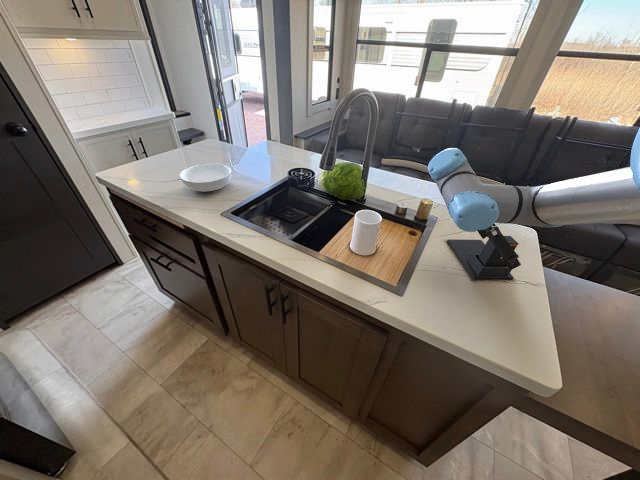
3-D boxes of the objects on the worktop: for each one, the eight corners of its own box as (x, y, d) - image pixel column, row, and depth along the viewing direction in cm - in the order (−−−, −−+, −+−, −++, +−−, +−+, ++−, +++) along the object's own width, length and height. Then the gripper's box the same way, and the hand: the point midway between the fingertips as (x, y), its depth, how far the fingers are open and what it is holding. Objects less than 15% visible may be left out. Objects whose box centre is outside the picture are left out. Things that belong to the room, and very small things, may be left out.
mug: (354, 231, 91) (359, 202, 83) (378, 237, 89) (385, 207, 81) (347, 252, 82) (351, 221, 74) (373, 258, 80) (380, 227, 72)
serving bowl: (237, 176, 122) (235, 163, 118) (228, 198, 106) (225, 182, 102) (193, 176, 121) (189, 162, 117) (176, 197, 104) (171, 182, 100)
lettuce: (332, 188, 123) (323, 159, 114) (374, 185, 112) (367, 152, 103) (318, 207, 113) (307, 177, 104) (363, 206, 102) (354, 172, 93)
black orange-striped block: (499, 272, 76) (518, 243, 69) (480, 272, 75) (497, 243, 69) (492, 264, 78) (510, 235, 72) (474, 263, 78) (490, 235, 71)
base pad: (512, 280, 75) (519, 270, 72) (473, 279, 74) (478, 270, 72) (479, 241, 89) (484, 232, 86) (446, 241, 88) (450, 232, 86)
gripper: (436, 189, 74) (465, 231, 84) (482, 242, 54) (513, 289, 64) (460, 172, 71) (488, 218, 81) (519, 222, 51) (546, 275, 61)
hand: (499, 250), depth 72 cm, fingers open, 13 cm apart
